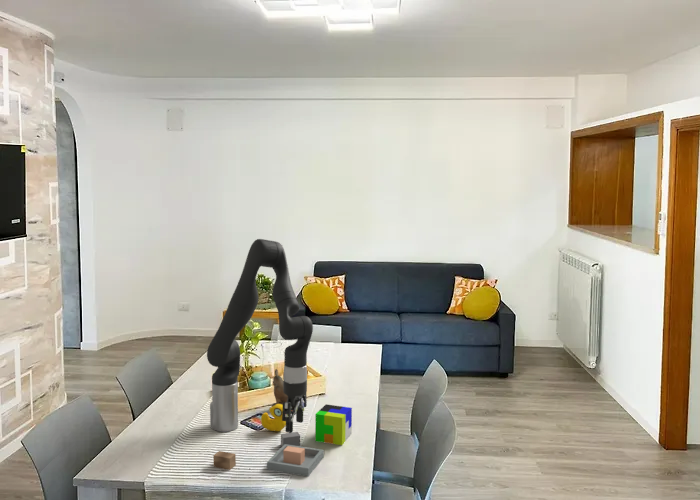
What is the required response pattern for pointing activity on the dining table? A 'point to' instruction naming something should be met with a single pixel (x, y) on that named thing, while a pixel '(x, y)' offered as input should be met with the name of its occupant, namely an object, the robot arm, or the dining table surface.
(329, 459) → the dining table surface
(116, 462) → the dining table surface
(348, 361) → the dining table surface
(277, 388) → the worn brown figurine
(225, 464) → the walnut brick
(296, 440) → the charcoal brick
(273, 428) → the duckling
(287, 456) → the terracotta brick
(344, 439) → the puzzle toy
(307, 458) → the slate tray
